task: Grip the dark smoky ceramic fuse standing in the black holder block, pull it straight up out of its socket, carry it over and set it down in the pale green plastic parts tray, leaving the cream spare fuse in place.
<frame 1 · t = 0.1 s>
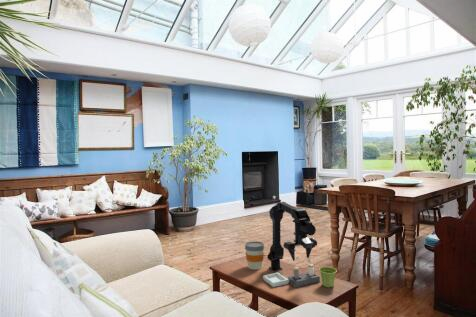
hand: (300, 259, 173), 15 cm above the table, fingers open, 9 cm apart
fuse holder: (304, 281, 177), on the table
parts tray: (275, 281, 179), on the table
spare fuse: (311, 280, 179), resting in fuse holder
reusable coffee cup: (255, 267, 203), on the table
plant pot: (328, 285, 172), on the table
blown fuse: (296, 283, 175), resting in fuse holder
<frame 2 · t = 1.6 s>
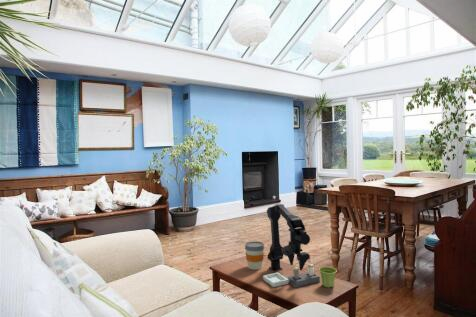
hand: (296, 267, 175), 9 cm above the table, fingers open, 9 cm apart
nothing on the table moved.
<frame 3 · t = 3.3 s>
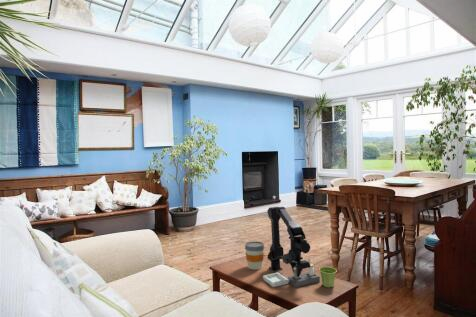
hand: (296, 275, 175), 5 cm above the table, fingers closed on blown fuse, 3 cm apart
blown fuse: (296, 283, 175), resting in fuse holder, touching gripper
everything else where it was.
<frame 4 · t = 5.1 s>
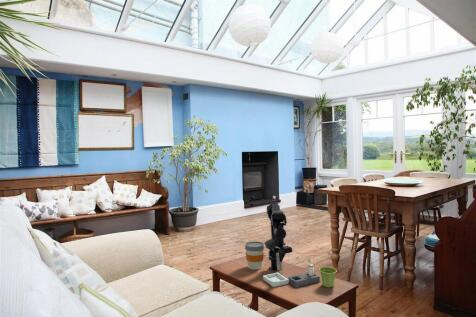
hand: (279, 261, 178), 12 cm above the table, fingers closed on blown fuse, 3 cm apart
blown fuse: (279, 268, 178), point 7 cm above the table, touching gripper
everything else where it was.
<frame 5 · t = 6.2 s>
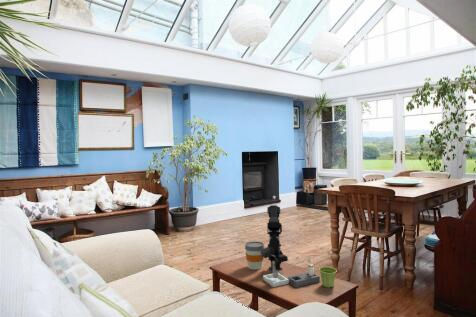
hand: (275, 269, 179), 7 cm above the table, fingers closed on blown fuse, 3 cm apart
blown fuse: (275, 277, 179), point 2 cm above the table, touching gripper
everything else where it was.
when the fingers open (5 cm above the table, at t = 7.1 s): blown fuse stays where it is, resting on parts tray.
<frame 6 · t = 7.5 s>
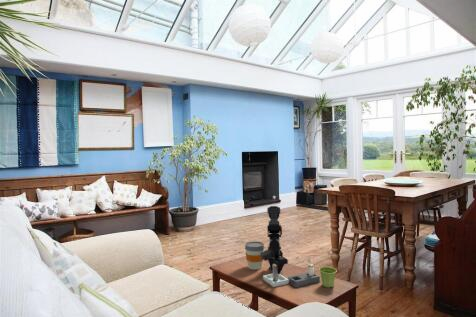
hand: (275, 271, 179), 5 cm above the table, fingers open, 7 cm apart
blown fuse: (275, 280, 179), point 1 cm above the table, touching parts tray
everything else where it was.
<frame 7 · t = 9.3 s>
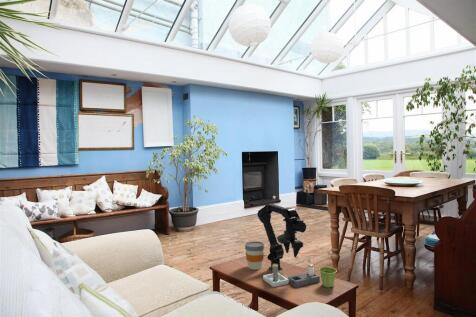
hand: (291, 255, 186), 12 cm above the table, fingers open, 9 cm apart
nothing on the table moved.
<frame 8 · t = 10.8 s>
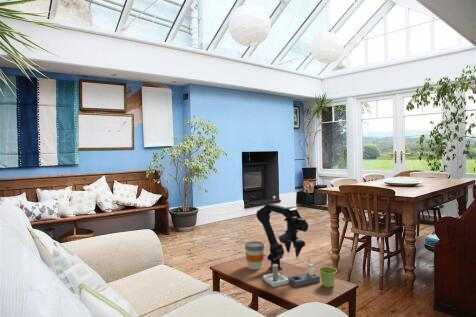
hand: (292, 254, 187), 13 cm above the table, fingers open, 9 cm apart
nothing on the table moved.
at the end: blown fuse inside the target area on the parts tray (0.0 cm from its centre), point 0.6 cm above the parts tray's base; the gripper is holding nothing; spare fuse moved 0.0 cm from its start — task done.
